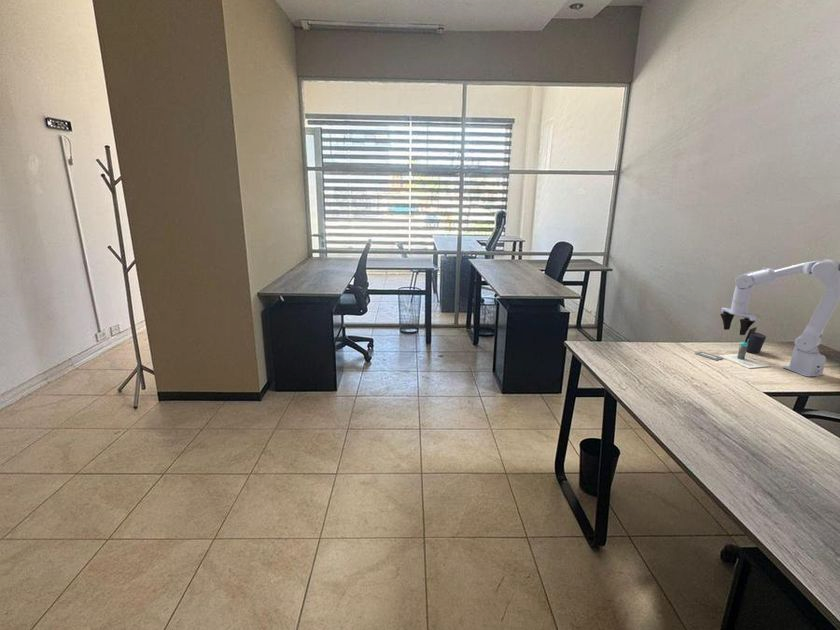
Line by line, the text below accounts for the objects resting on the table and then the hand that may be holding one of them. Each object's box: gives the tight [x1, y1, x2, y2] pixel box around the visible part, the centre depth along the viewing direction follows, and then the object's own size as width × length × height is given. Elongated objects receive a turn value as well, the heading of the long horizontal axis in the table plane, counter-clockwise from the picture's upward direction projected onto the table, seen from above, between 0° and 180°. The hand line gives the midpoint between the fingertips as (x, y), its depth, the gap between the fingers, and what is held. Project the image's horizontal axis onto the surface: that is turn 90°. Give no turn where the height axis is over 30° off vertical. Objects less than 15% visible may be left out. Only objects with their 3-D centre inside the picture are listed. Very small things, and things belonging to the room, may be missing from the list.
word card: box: [694, 351, 724, 361], centre depth 181 cm, size 9×5×1 cm, turn 26°
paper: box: [718, 353, 770, 370], centre depth 175 cm, size 14×10×1 cm
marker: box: [737, 341, 748, 360], centre depth 176 cm, size 3×3×7 cm
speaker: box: [744, 327, 767, 355], centre depth 185 cm, size 8×6×10 cm
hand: (734, 332), depth 182 cm, fingers open, 7 cm apart
